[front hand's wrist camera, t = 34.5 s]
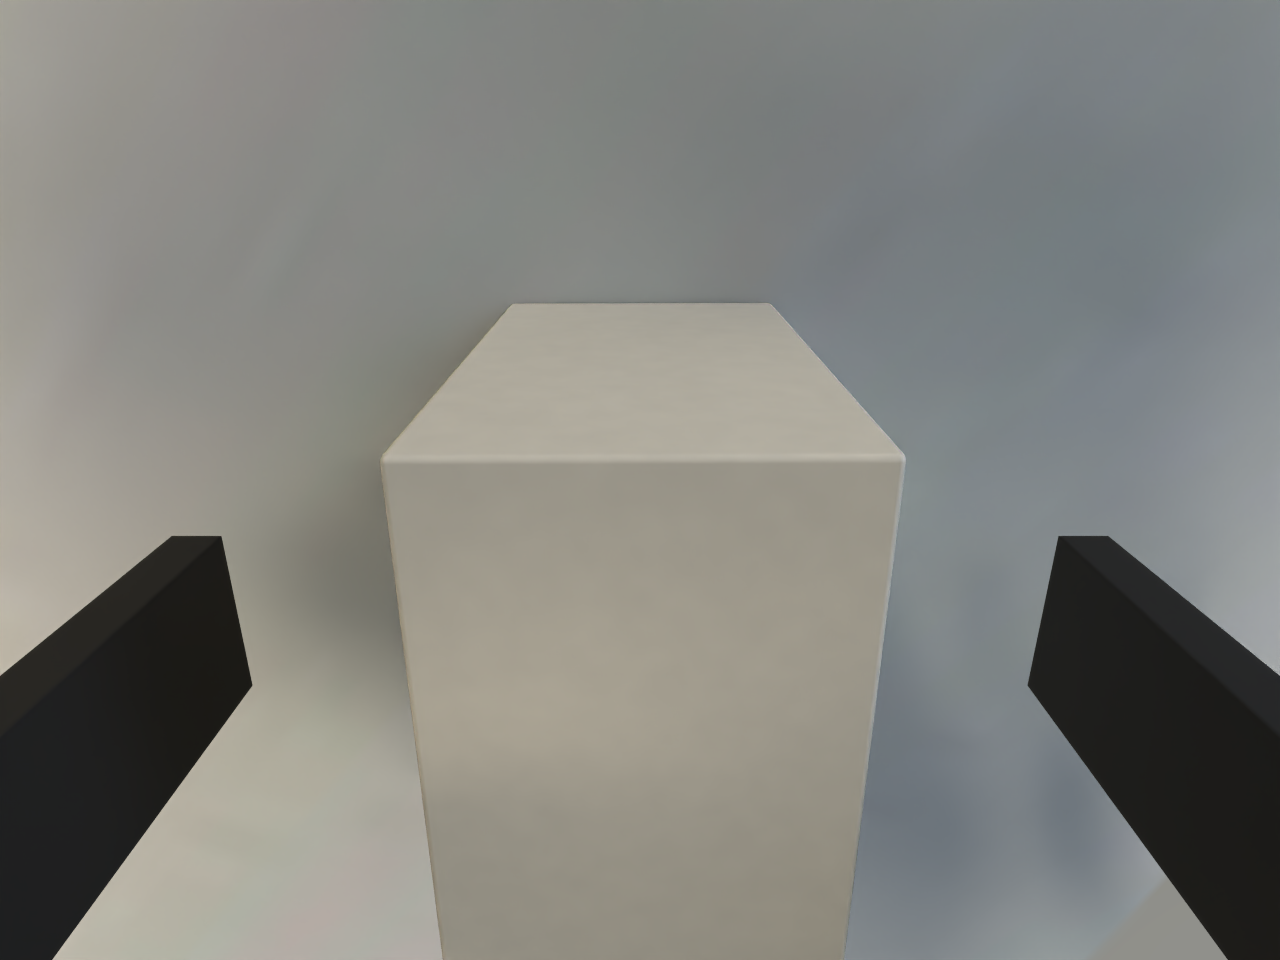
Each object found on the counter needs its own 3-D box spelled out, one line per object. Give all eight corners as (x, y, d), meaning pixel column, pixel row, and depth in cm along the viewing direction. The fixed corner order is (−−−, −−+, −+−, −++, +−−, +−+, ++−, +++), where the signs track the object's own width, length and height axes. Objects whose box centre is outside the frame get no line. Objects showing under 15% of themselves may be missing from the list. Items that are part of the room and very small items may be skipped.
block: (530, 633, 19) (446, 1001, 11) (510, 303, 16) (375, 456, 8) (752, 632, 19) (841, 1000, 11) (771, 302, 16) (910, 454, 8)
